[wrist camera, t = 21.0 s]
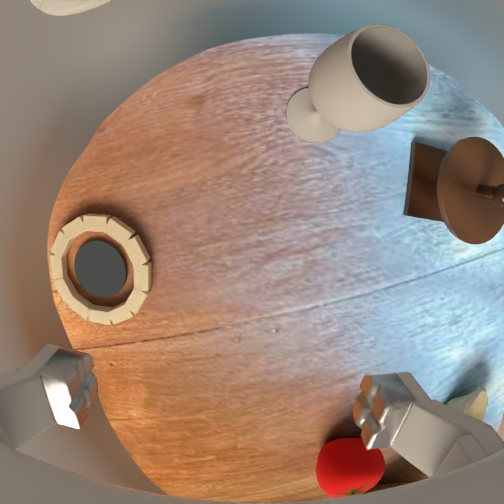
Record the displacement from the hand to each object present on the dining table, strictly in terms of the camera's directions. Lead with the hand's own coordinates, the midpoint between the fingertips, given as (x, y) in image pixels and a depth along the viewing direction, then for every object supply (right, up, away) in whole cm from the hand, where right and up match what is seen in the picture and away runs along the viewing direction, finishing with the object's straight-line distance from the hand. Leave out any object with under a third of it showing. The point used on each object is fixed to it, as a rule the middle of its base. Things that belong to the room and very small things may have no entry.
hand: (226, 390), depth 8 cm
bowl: (+43, -28, +41) cm, 65 cm away
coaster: (-20, +2, +31) cm, 37 cm away
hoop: (-20, +2, +31) cm, 37 cm away
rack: (+27, +13, +30) cm, 42 cm away
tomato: (+18, -33, +42) cm, 56 cm away
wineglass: (+8, +21, +27) cm, 35 cm away
